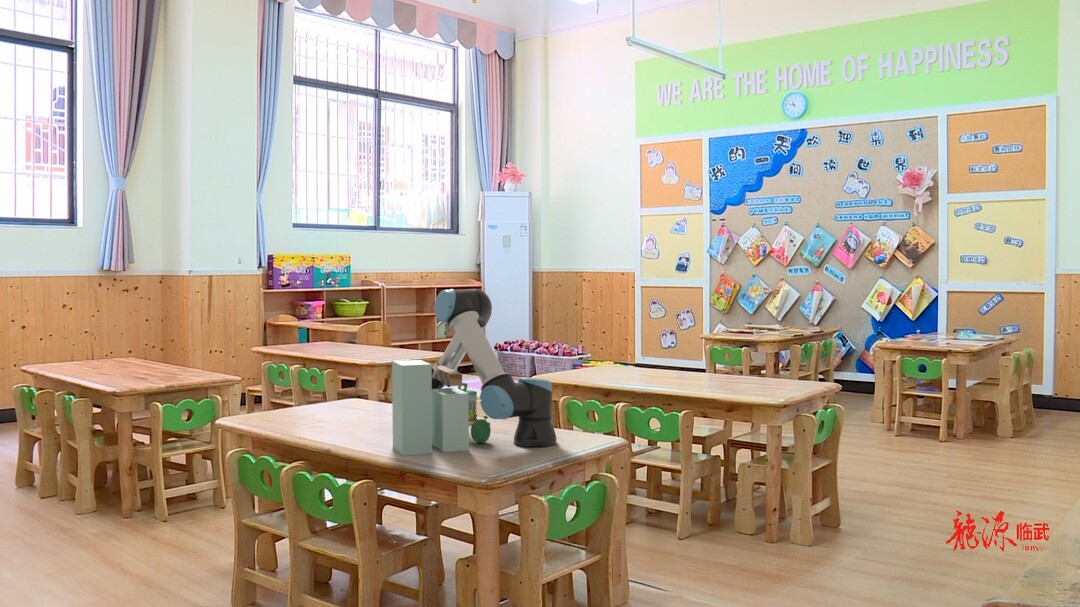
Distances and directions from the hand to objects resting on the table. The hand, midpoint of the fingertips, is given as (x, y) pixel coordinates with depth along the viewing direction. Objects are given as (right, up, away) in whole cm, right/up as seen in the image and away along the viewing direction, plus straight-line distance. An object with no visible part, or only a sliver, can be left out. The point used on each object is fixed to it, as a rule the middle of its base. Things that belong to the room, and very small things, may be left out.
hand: (443, 366), depth 314 cm
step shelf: (-3, -28, -9) cm, 29 cm away
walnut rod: (+2, -5, -4) cm, 7 cm away
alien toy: (+13, -27, +1) cm, 31 cm away
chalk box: (+2, -25, +50) cm, 56 cm away
